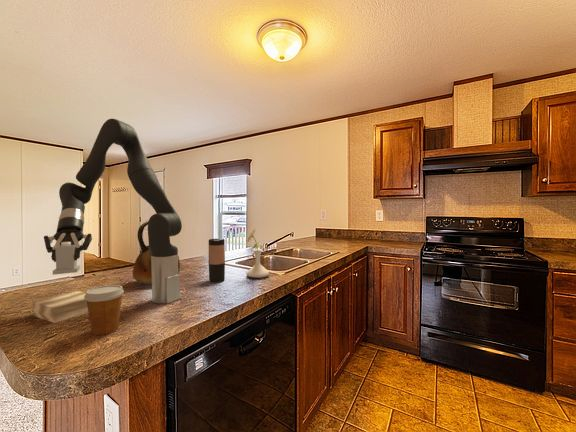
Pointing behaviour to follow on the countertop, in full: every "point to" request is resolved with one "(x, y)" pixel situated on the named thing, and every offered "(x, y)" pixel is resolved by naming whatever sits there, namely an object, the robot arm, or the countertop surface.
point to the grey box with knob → (65, 259)
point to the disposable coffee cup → (104, 308)
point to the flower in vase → (257, 269)
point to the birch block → (61, 306)
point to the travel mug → (216, 260)
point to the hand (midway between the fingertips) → (65, 259)
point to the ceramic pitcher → (144, 261)
